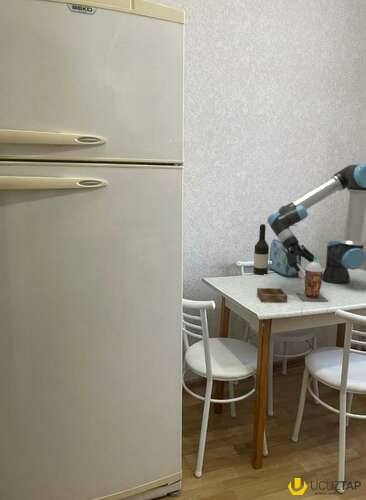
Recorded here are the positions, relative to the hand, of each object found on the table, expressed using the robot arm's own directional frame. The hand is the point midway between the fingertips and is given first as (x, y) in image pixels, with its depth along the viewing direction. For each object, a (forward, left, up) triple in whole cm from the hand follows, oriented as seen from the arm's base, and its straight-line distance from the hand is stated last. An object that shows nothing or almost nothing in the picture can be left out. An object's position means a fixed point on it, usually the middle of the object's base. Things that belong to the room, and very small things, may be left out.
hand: (312, 274), depth 194 cm
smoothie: (-1, 0, -11) cm, 11 cm away
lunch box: (0, -51, -12) cm, 52 cm away
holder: (+20, +2, -12) cm, 23 cm away
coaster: (0, 0, -12) cm, 12 cm away
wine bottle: (+15, -49, -12) cm, 52 cm away
